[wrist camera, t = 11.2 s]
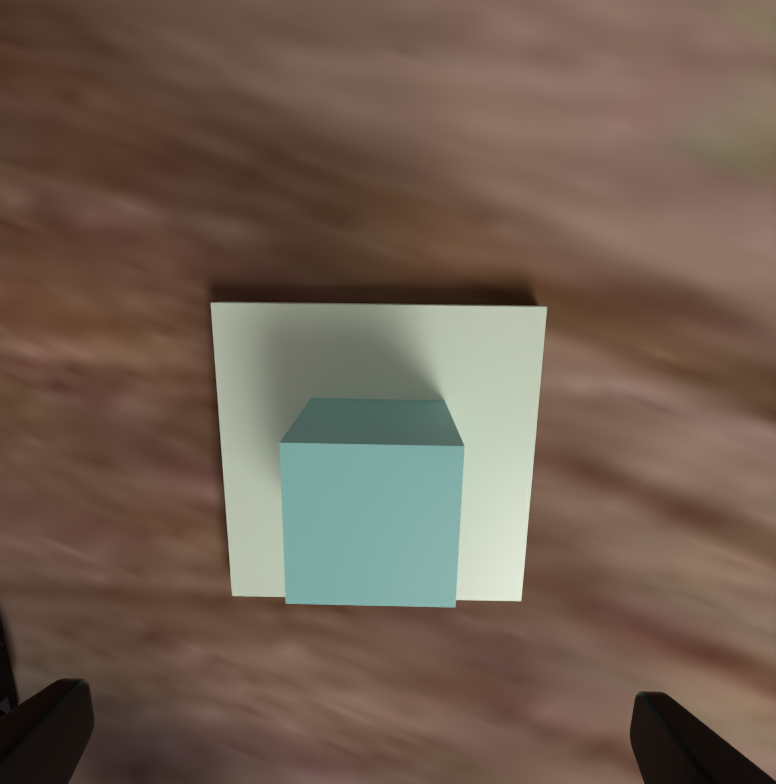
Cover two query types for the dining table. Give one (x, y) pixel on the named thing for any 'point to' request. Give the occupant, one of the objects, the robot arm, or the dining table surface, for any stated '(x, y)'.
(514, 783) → the dining table surface
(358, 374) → the sage pad
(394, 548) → the teal block
